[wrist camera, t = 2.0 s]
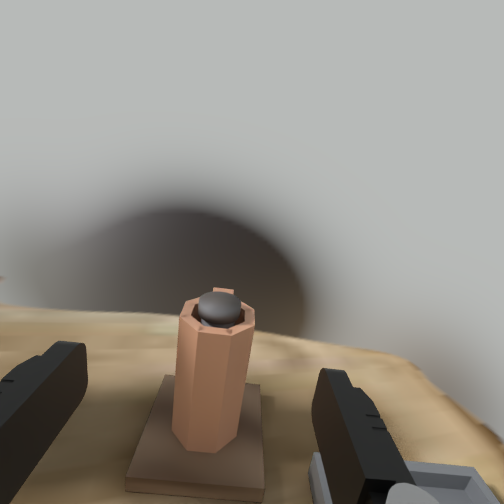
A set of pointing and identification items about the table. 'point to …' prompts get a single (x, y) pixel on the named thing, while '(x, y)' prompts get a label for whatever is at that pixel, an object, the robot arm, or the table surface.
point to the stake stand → (201, 463)
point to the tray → (421, 483)
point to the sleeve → (210, 378)
